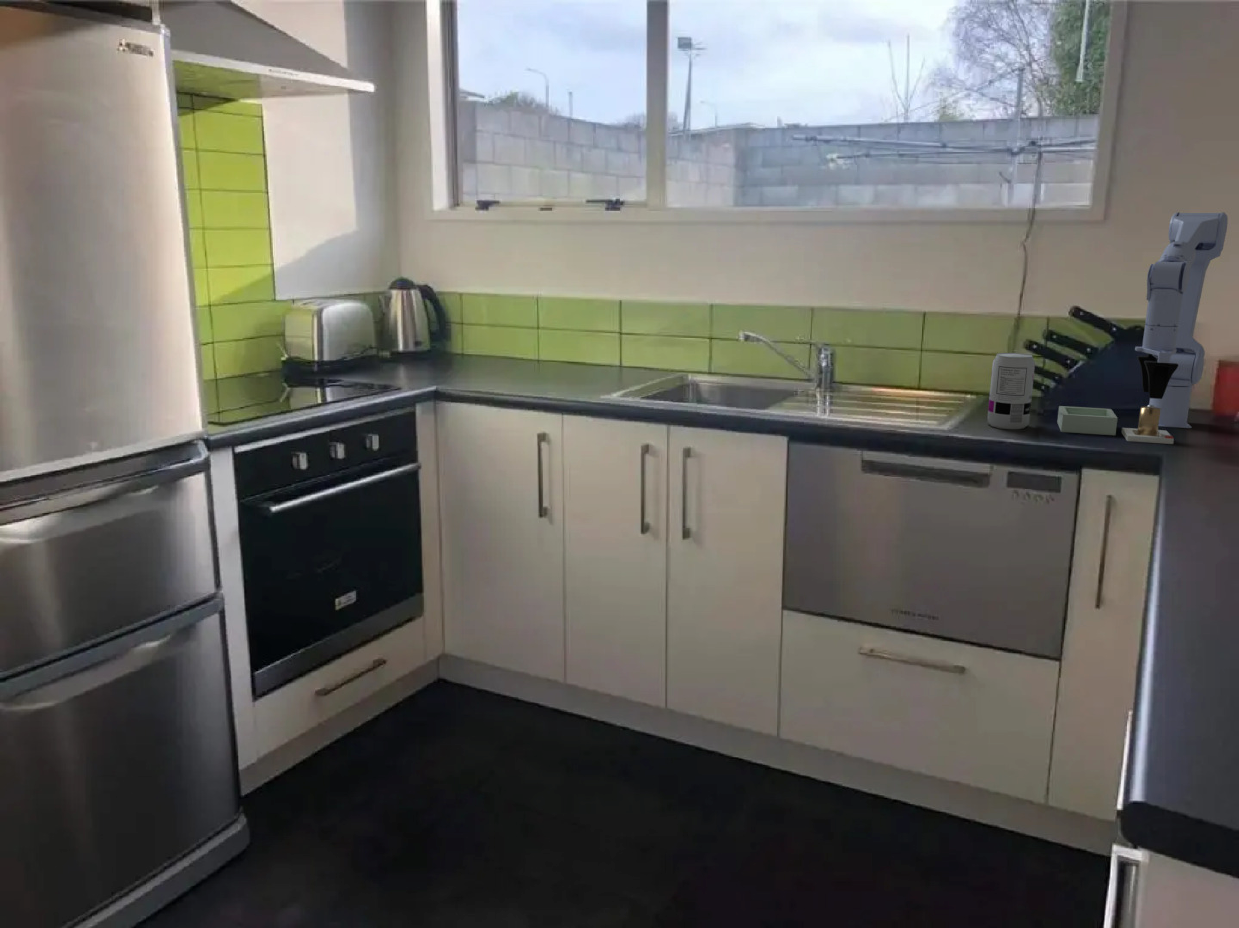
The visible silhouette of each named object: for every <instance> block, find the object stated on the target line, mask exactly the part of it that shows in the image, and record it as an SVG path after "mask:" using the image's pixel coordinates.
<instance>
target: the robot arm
mask: <svg viewBox="0 0 1239 928" xmlns="http://www.w3.org/2000/svg"><path fill="white" fill-rule="evenodd" d="M1228 220H1229V217H1228V215H1227V214H1226V212H1224V211H1222V212H1179V211H1178V212H1177V211H1176V212H1175V213H1174V214H1172V216H1171V218H1170V221H1169V227H1168V240H1169V244H1168V245H1166V247H1165V248H1164V250H1163V252H1162V253H1161V256H1160V258H1159V259H1158V261H1156V262H1155V263H1154V264H1153V263H1151V264H1150V265H1149V268H1148V271H1147V277H1146V301H1147V308H1146V315H1145V322H1144V323H1145V324H1144V331H1143V338H1142V346H1134V347H1135V348H1134V351H1136V352H1141V353H1145V355H1137V356H1136V358H1137V362H1138V364H1139V367H1140V371H1141V373H1140V374H1141V382H1142V385H1141V386H1142V392H1143V393H1148V396H1149V403H1148V405H1153V406H1154V407H1157V408H1160V409H1161V411H1160V419H1159V426H1158V427H1168V428H1182V429H1192V426H1191V425H1190V424H1189V423H1188V417H1189V409H1190V402H1191V397H1192V395H1191V394H1192V388H1193V385H1195V384H1196V385H1197V383H1199V382H1200V380H1201V378H1202V375H1203V370H1204V366H1205V365H1204V364H1205V354H1206V352H1205V348H1204V346H1203V344H1201V343H1200V342H1198V341H1197V340H1196V339H1195V338H1194V333H1195V332H1194V331H1195V327H1196V322H1197V318H1198V313H1199V307H1200V303H1201V299H1202V293H1203V287H1204V282H1205V279H1206V272H1207V269H1208V268H1209V266H1210V263H1211V261H1212V260H1214V259H1217V258H1219V257H1220V256H1221V253H1222V252H1223V250H1224V245H1225V242H1226V241H1225V239H1226V234H1227V231H1228V222H1229V221H1228Z"/></svg>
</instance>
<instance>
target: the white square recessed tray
mask: <svg viewBox="0 0 1239 928" xmlns="http://www.w3.org/2000/svg"><path fill="white" fill-rule="evenodd" d="M1137 432H1138V428H1132V427H1131V428H1130V427H1122V428H1121V434H1122V436H1123V437H1124V438H1125V440H1126V441H1127V442H1135V443H1149V444H1150V443H1151V444H1168V445H1174V442H1175V439H1174V437H1173V435H1171V434H1170V433H1169V432H1168V431H1167V430H1163V429H1162V430H1161V429H1158V433H1157V436H1146V435H1137Z"/></svg>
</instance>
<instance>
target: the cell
mask: <svg viewBox="0 0 1239 928" xmlns="http://www.w3.org/2000/svg"><path fill="white" fill-rule="evenodd" d="M1139 409H1140V410H1139V417H1138V425H1137V426H1138V427H1137V429H1138V432H1137V435H1146V436H1157V433H1158V430H1159V427H1160V426H1159V419H1160V411H1161V409H1160V408H1157V407H1154V406H1153V405H1149V404H1148V405H1147V406H1141V407H1140V408H1139Z"/></svg>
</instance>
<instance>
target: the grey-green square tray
mask: <svg viewBox="0 0 1239 928" xmlns="http://www.w3.org/2000/svg"><path fill="white" fill-rule="evenodd" d="M1056 423H1057V425H1058V428H1059V430H1060V433H1061V432H1062V433H1073V434H1075V433H1077V434H1088V435H1104V436H1105V435H1106V436H1116V434H1117V426H1118V424H1117V423H1118V417H1117V415H1116V413H1114V411H1113V410H1112V409H1111V408H1101V407H1084V406H1082V407H1081V406H1065V405H1064V406H1063V405H1059V406H1058V411H1057V422H1056Z"/></svg>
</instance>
